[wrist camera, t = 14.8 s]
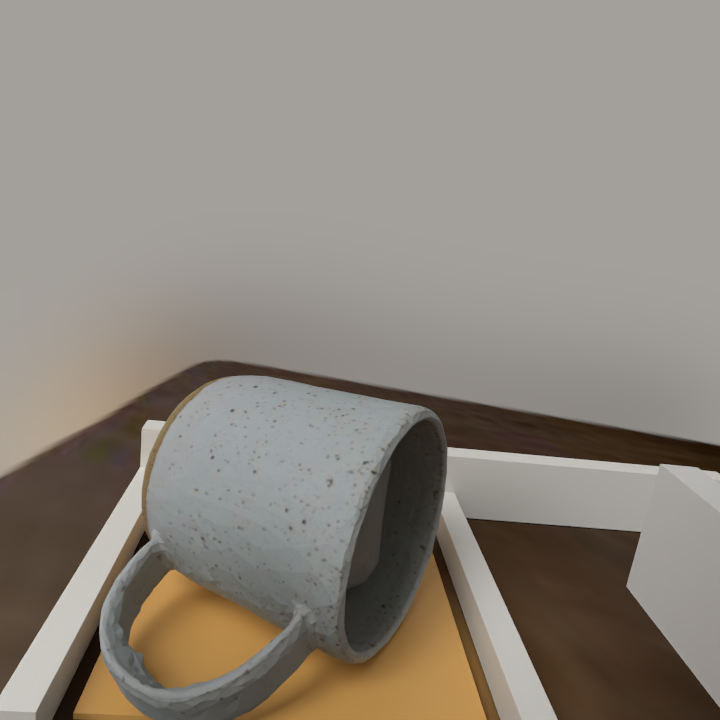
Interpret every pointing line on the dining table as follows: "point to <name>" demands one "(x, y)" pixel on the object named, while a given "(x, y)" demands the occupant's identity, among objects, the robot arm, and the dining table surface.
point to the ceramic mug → (281, 530)
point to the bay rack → (319, 670)
